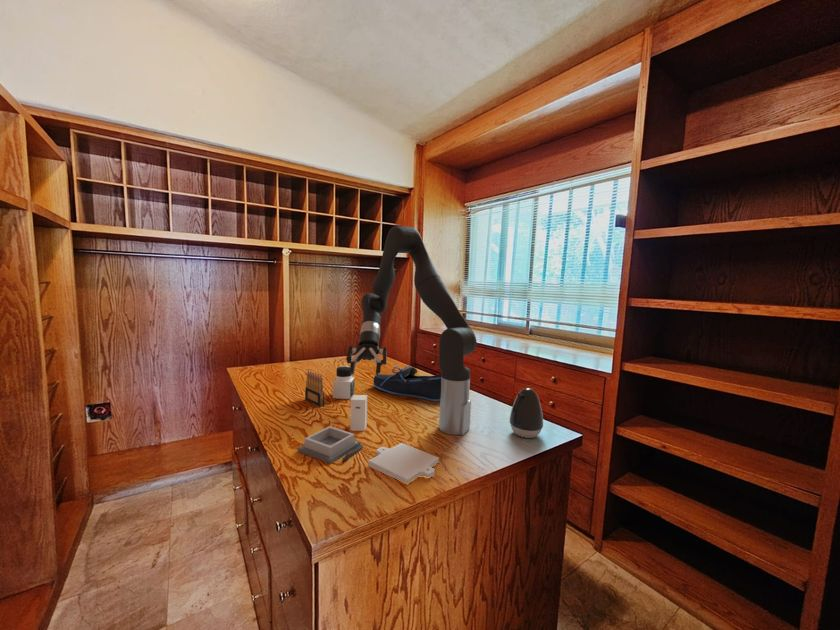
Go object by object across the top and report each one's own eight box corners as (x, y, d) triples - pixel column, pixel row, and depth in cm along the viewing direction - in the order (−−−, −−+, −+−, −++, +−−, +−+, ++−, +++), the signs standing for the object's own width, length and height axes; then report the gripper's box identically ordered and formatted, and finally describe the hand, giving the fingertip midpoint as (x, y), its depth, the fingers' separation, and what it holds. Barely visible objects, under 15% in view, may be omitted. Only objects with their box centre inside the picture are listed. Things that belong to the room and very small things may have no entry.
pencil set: (304, 399, 134) (304, 369, 132) (309, 398, 135) (309, 368, 134) (319, 407, 126) (320, 375, 125) (324, 406, 128) (324, 374, 127)
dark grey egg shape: (501, 433, 110) (504, 386, 108) (520, 425, 116) (523, 381, 115) (530, 445, 102) (533, 395, 101) (548, 436, 109) (552, 389, 107)
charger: (366, 424, 112) (367, 395, 111) (364, 431, 108) (365, 400, 107) (352, 424, 112) (353, 394, 111) (350, 430, 108) (350, 399, 107)
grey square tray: (360, 445, 98) (360, 433, 98) (330, 464, 88) (330, 450, 88) (329, 434, 104) (329, 423, 104) (297, 451, 94) (297, 439, 93)
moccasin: (381, 383, 159) (382, 358, 158) (454, 393, 148) (455, 366, 147) (367, 391, 146) (368, 364, 145) (446, 404, 135) (447, 374, 134)
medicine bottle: (350, 399, 136) (351, 369, 134) (332, 398, 136) (332, 369, 134) (354, 393, 143) (354, 365, 141) (337, 392, 143) (337, 364, 142)
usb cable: (360, 446, 98) (361, 443, 98) (363, 447, 97) (363, 444, 97) (341, 461, 90) (341, 457, 89) (344, 462, 89) (344, 458, 89)
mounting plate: (361, 464, 89) (361, 457, 89) (394, 446, 100) (394, 439, 99) (415, 491, 78) (416, 483, 78) (446, 468, 89) (447, 461, 89)
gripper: (349, 329, 127) (342, 367, 117) (388, 330, 128) (384, 368, 117) (352, 340, 133) (345, 378, 123) (388, 342, 133) (385, 379, 123)
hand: (364, 373), depth 120 cm, fingers open, 8 cm apart
